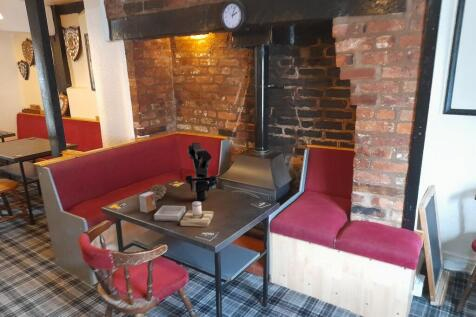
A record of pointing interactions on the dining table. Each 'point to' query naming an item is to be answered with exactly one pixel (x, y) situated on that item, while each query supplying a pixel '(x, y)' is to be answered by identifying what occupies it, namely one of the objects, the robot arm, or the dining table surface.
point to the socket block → (204, 222)
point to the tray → (169, 213)
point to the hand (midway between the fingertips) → (199, 192)
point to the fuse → (197, 210)
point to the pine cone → (158, 191)
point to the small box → (147, 202)
